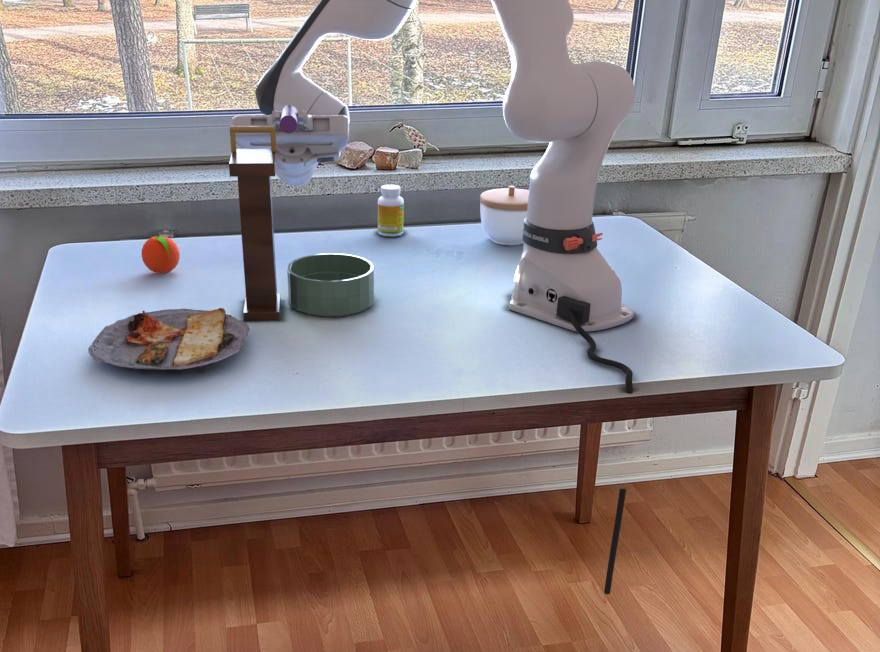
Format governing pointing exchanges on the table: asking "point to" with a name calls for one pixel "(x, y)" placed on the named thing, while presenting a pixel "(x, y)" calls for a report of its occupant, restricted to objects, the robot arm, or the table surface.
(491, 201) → the lidded bowl
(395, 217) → the supplement bottle
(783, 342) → the table surface
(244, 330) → the food plate
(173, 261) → the clementine
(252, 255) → the stand
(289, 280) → the bowl
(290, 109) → the glue stick
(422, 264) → the table surface
